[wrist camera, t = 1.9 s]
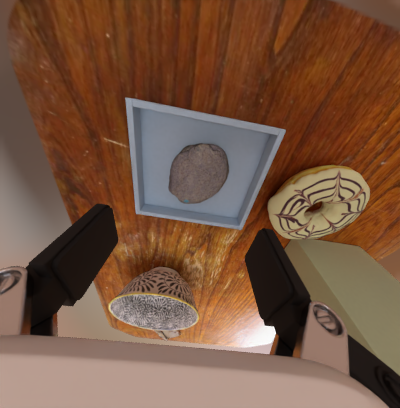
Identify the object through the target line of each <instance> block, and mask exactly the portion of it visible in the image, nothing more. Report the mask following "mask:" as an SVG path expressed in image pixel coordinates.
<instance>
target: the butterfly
mask: <svg viewBox="0 0 400 408" xmlns="http://www.w3.org/2000/svg"><path fill="white" fill-rule="evenodd" d="M154 331H155V332H156V333H157V334H158V335H159V336H160V337H161V338H163V340H166V341H168V339H169V338H174V337H177V336H179V335H181V332H180V330H175V331H162V332H160V331H158V330H154Z"/></svg>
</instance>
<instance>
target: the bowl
mask: <svg viewBox="0 0 400 408" xmlns="http://www.w3.org/2000/svg"><path fill="white" fill-rule="evenodd" d="M109 311H110V312H111V314H112V315H113V316H115V317H116V318H117V319H119V320H121V321H123V322H125V323H127V324H130V325H133V326H136V327H140V328H144V329H150V330H158V331H175V330H182V329H186V328H189V327H192V326H193V325H195V324H196V323H197V322H198V320H199V314H198V311H197V308H196V305H195V301H194V297H193V294H192V291H191V289H190V287H189V285H188V284H187V282H186V281H185V280H184V279H183V278H182V277H180V275H179V273H178V272H176V271H175V270H173V269H171V268H167V267H156V268H153V269H151V270H150V271H148V272H145V273H142V274H140V275H138V276H137V277H135V278H134V279H133V280H132V281H131V282H129V284H128V285H127V286H126V287H125V288H124V289H123V290H122V291H121V292H120V293H119V295H118V296H116V297H115V298H114V299H113V300H112V301H111V302H110V303H109Z"/></svg>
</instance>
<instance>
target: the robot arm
mask: <svg viewBox="0 0 400 408" xmlns="http://www.w3.org/2000/svg"><path fill="white" fill-rule="evenodd" d="M117 243H118V235H117V230H116V225H115V220H114V215H113V210H112V208H110V206H109V205H104V204H96V205H95V206H94V207H92V208H91V209H90V210H89V211H88V212H87V213H86V214H84V215H83V216H82V217H81V218H80V219H79V220H78V221H76V222H75V223H74V224H73V225H72V226H71V227H70V228H68V229H67V230H66V231H65V232H64V233H63V234H62V235H60V237H58V238H57V239H56V240H55V241H53V242H52V243H51V244H50V245H49V246H48V247H47V248H45V249H44V250H43V251H42V252H41V253H40V254H39V255H37V256H36V257H35V258H34V259H33V260H32V261H31V262H29V265H28V266H27V267H26V268H24V267H20V266H11V267H7V268H3V269H0V408H400V376H399V375H398V374H397V373H396V372H395V371H394V370H393V369H391V368H390V367H389V366H387V365H386V364H385V363H384V362H382V361H381V360H380V359H379V358H377V357H376V356H375V355H374V354H372V353H371V352H370V351H369V350H367V349H366V348H365V347H364V346H362V345H361V344H360V343H359V342H357V341H356V340H355V339H354V338H352V337H351V336H350V335H349V334H348V333H347V329H346V326H345V324H344V322H343V321H342V319H341V318H340V316H339V315H338V314H337V313H336V312H335V311H334V310H333V309H332V308H331V307H329V306H328V305H326V304H325V303H323V302H320V301H312V300H311V299H310V297H311V296H310V294H309V292H308V290H307V289H306V287H305V285H304V283H303V282H302V280H301V278H300V276H299V275H298V273H297V271H296V269H295V268H294V266H293V264H292V262H291V261H290V259H289V257H288V255H287V254H286V252H285V250H284V248H283V247H282V245H281V243H280V241H279V240H278V238H277V236H276V234H275V233H274V231H273V230H271V229H264V228H263V229H262V230H259V231H258V233H257V235H256V237H255V239H254V241H253V243H252V244H251V246H250V248H249V250H248V252H247V254H246V256H245V262H246V266H247V270H248V273H249V277H250V281H251V285H252V288H253V292H254V296H255V299H256V303H257V307H258V311H259V314H260V317H261V318H262V319H263V320H264V324H265V326H274V328H275V331H276V335H275V339H274V342H273V345H272V348H271V351H270V355H268V354H259V353H248V352H237V351H226V350H215V349H204V348H192V347H180V346H169V345H156V344H145V343H132V342H120V341H108V340H96V339H83V338H71V337H58V328H57V312H58V310H59V309H60V307H61V306H62V305H65V306H73V305H74V304H75V303H76V301H77V300H80V299H81V298H82V297H83V295H84V294H85V292H86V291H87V289H88V288H89V286H90V284H91V283H92V281H93V280H94V278H95V277H96V275H97V274H98V272H99V271H100V269H101V268H102V266H103V265H104V263H105V261H106V260H107V258H108V257H109V255H110V254H111V252H112V251H113V249H114V248H115V246H116V245H117Z"/></svg>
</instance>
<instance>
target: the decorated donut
mask: <svg viewBox="0 0 400 408" xmlns="http://www.w3.org/2000/svg"><path fill="white" fill-rule="evenodd" d="M369 197H370V189H369V187H368V185H367V183H366V182H365V181H364V179H363V177H362V176H361V175H360V174H359V173H358V172H356V171H354V170H352V169H351V168H349V167H346V166H335V165H327V166H320V167H314V168H310V169H307V170H304V171H301V172H299V173H297V174H296V175H294V176H292V177H290V178H289V179H288V180H286V181H285V182H284V183H283V185H282V186H281V187H280V188H279V190H278V191H277V192H276V193H275V194H274V196H273V197H271V198H270V200H269V201H268V212H269V218H270V221H271V223H272V226H273V227H274V229H275V230H276V231H277V232H278V233H279V234H280V235H282V236H283V237H285V238H288V239H316V238H320V237H323V236H325V235H328V234H332V233H334V232H337V231H338V230H340V229H342V228H344V227H345V226H346V225H348V224H349V223H351V222H353V221H354V220H355V219H356V218H357V217H358V216H359V215H360V213H361V212H362V211H363V210H364V208H365V206H366V204H367V202H368V200H369ZM313 204H314V205H313Z"/></svg>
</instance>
